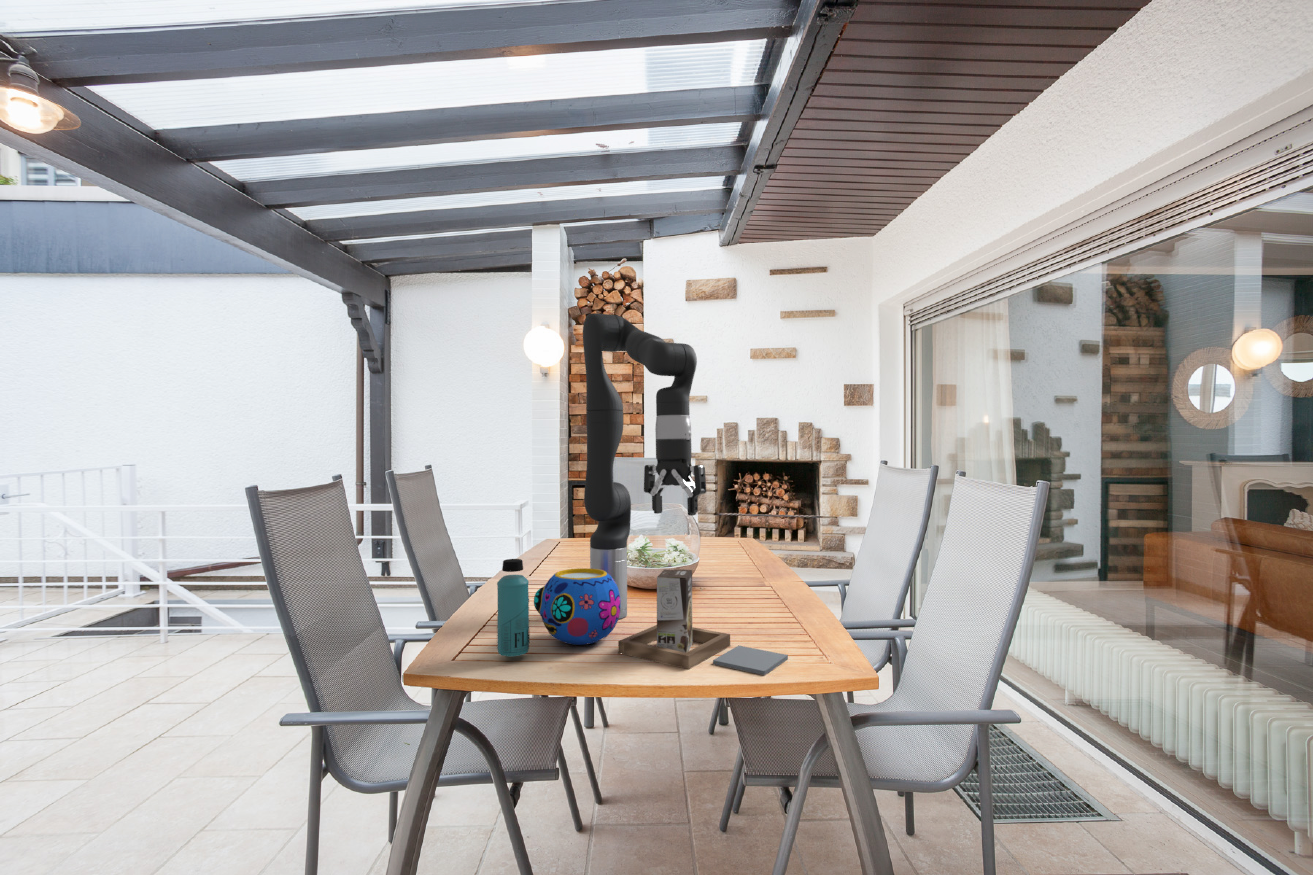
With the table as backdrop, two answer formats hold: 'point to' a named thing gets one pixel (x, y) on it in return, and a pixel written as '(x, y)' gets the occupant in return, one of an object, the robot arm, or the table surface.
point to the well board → (641, 649)
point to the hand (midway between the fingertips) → (674, 514)
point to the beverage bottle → (513, 611)
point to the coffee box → (674, 609)
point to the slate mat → (750, 660)
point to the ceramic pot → (579, 605)
